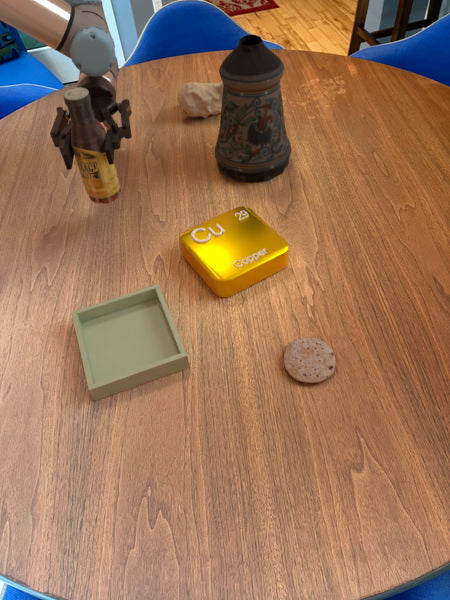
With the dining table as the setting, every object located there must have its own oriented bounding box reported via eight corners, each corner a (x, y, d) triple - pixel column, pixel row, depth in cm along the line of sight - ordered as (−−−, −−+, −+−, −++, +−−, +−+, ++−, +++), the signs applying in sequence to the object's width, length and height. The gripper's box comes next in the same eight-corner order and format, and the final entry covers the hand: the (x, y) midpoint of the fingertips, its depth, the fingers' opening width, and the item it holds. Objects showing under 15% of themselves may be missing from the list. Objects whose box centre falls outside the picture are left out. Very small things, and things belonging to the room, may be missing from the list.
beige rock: (169, 125, 122) (192, 105, 109) (166, 96, 122) (188, 72, 108) (222, 127, 129) (250, 108, 116) (219, 99, 129) (247, 77, 115)
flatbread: (334, 387, 68) (335, 384, 67) (281, 381, 69) (281, 377, 68) (335, 341, 73) (336, 337, 72) (286, 336, 74) (286, 332, 73)
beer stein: (234, 192, 99) (227, 70, 80) (199, 148, 111) (185, 32, 92) (304, 169, 103) (313, 47, 84) (263, 128, 115) (262, 13, 96)
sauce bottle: (82, 199, 90) (44, 96, 75) (105, 182, 93) (73, 79, 78) (107, 210, 87) (73, 105, 72) (130, 192, 90) (102, 88, 75)
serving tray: (76, 323, 79) (71, 311, 77) (161, 295, 82) (158, 283, 79) (94, 401, 69) (88, 390, 67) (190, 367, 72) (187, 355, 70)
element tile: (220, 302, 80) (218, 283, 76) (178, 252, 88) (174, 232, 85) (293, 265, 84) (294, 244, 81) (245, 220, 93) (245, 200, 89)
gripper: (149, 106, 96) (150, 172, 81) (53, 118, 96) (37, 186, 81) (141, 68, 91) (142, 131, 76) (40, 80, 90) (20, 146, 75)
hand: (88, 159), depth 78 cm, fingers closed on sauce bottle, 6 cm apart
